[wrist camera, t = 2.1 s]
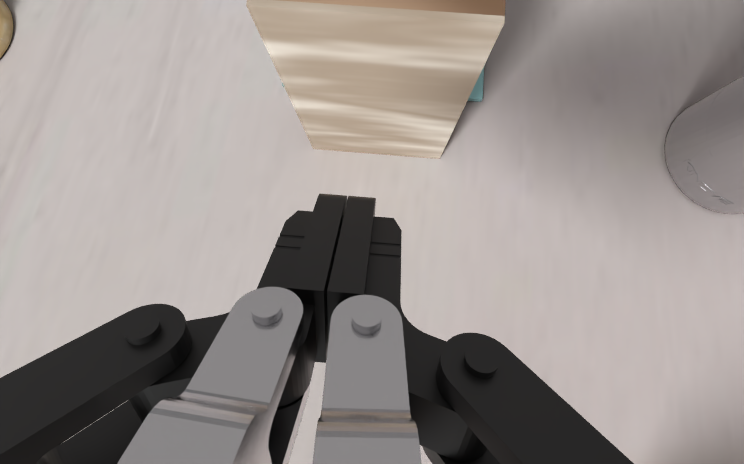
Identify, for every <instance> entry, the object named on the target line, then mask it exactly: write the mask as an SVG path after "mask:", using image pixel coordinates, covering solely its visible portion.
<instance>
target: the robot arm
mask: <svg viewBox="0 0 744 464" xmlns="http://www.w3.org/2000/svg"><path fill="white" fill-rule="evenodd" d="M665 158H666V163H667V166H668V169H669V172H670V174H671V176H672V178H673V180H674V182H675V183H676V184H677V186H678V187H679V188H680V189H681V191H682V192H683V193H684V194H685V195H686V196H688V197H689V198H690V199H691V200H692V201H694V202H695V203H697V204H699V205H701V206H702V207H704V208H706V209H709V210H713V211H716V212H719V213H727V214H738V213H744V76H742V77H740V78H739V79H737V80H735V81H733V82H731V83H730V84H728V85H726V86H724V87H723V88H721V89H719V90H718V91H716V92H714V93H712V94H711V95H709V96H707V97H706V98H704V99H702V100H700V101H699V102H697V103H695V104H694V105H692V106H690V107H688V108H687V109H685V110H684V111H683V112H682V113H681V114H680V115H678V116H677V118H676V119H675V121H674V122H673V123H672V125H671V127H670V129H669V131H668V134H667V137H666V143H665ZM375 201H376V198H368V197H356V196H349V197H348V200H347V196H342V195H330V194H319V196H318V198H317V201H316V204H315V207H314V210H313V212H310V211H297V212H296V213H295V214H294V215H292V216H291V217H290V218H289V219H288V220H287V221H286V222H285V224H284V226H283V229H282V231H281V233H280V237H279V238H278V240H277V243H276V245H275V248H274V250H273V252H272V254H271V257H270V259H269V262H268V264H267V266H266V269H265V271H264V273H263V276H262V278H261V280H260V283H259V285H258V287H257V289H256V290H253V291H251V292H249V293H247V294H246V295H244V296H243V297H241V298H240V299H239V300H238V301H237V302H236V303H235V305H234V306H233V308H232V310H231V311H230V312H229V313H226V314H223V315H218V316H214V317H208V318H202V319H196V320H190V321H186V320H185V317H184V315H183V314H182V312H181V311H180V310H179V309H177V308H175V307H173V306H170V305H166V304H151V305H146V306H142V307H139V308H136V309H133V310H131V311H129V312H127V313H125V314H123V315H121V316H119V317H117V318H115V319H113V320H111V321H110V322H108V323H106V324H104V325H102V326H100V327H98V328H96V329H94V330H92V331H90V332H88V333H86V334H84V335H83V336H81V337H79V338H77V339H75V340H73V341H71V342H69V343H67V344H65V345H63V346H61V347H59V348H57V349H56V350H54V351H52V352H50V353H48V354H46V355H44V356H42V357H40V358H38V359H36V360H34V361H32V362H30V363H28V364H27V365H25V366H23V367H21V368H19V369H17V370H15V371H13V372H11V373H9V374H7V375H5V376H3V377H1V378H0V464H288V463H289V460H290V456H291V453H292V449H293V446H294V443H295V439H296V436H297V433H298V429H299V426H300V422H301V419H302V416H303V412H304V409H305V406H306V402H307V399H308V395H309V384H310V381H311V377H312V372H313V367H314V363H315V362H324V363H326V372H325V381H324V391H323V401H322V410H321V416H320V418H319V420H318V424H317V430H316V438H315V446H314V456H313V464H421V455H420V445H421V446H423V449H424V451H425V453H426V455H427V457H428V458H429V459H430V461H431V462H432V464H634V463H632V462H631V461H630V460H629V459H628V458H627V457H626V456H625V455H624V454H623V453H621V452H620V451H619V450H618V449H617V448H616V447H615V446H614V445H613V444H612V443H611V442H609V441H608V440H607V439H606V438H605V437H604V436H603V435H602V434H601V433H600V432H598V431H597V430H596V429H595V428H594V427H593V426H592V425H591V424H590V423H589V422H587V421H586V420H585V419H584V418H583V417H582V416H581V415H580V414H579V413H578V412H576V411H575V410H574V409H573V408H572V407H571V406H570V405H569V404H568V403H567V402H566V401H564V400H563V399H562V398H561V397H560V396H559V395H558V394H557V393H556V392H555V391H553V390H552V389H551V388H550V387H549V386H548V385H547V384H546V383H545V382H544V381H542V380H541V379H540V378H539V377H538V376H537V375H536V374H535V373H534V372H533V371H532V370H530V369H529V368H528V367H527V366H526V365H525V364H524V363H523V362H522V361H521V360H519V359H518V358H517V357H516V356H515V355H514V354H513V353H512V352H511V351H510V350H508V349H507V348H506V347H505V346H504V345H503V344H501V343H500V342H498V341H497V340H495V339H493V338H491V337H489V336H486V335H483V334H478V333H463V334H459V335H456V336H454V337H452V338H451V339H449V340H448V341H447V342H446V341H444V340H441V339H438V338H436V337H433V336H430V335H428V334H426V333H423V332H422V331H420V330H418V329H417V328H415V327H414V326H413V325H412V324H411V323H410V322H409V321H408V320H407V319H406V317H405V316H404V314H403V312H402V309H401V304H400V286H401V229H400V228H399V226H398V224H397V223H396V221H395V220H394V218H385V217H375ZM326 360H327V362H326ZM127 400H128V401H127ZM126 401H127V402H126ZM124 402H125V403H124ZM123 403H124V404H123ZM121 404H122V405H121ZM120 405H121V406H120ZM118 406H119V407H118ZM116 407H117V408H116ZM115 408H116V409H115ZM113 409H114V410H113ZM112 410H113V411H112ZM110 411H111V412H110ZM109 412H110V413H109ZM107 413H108V414H107ZM106 414H107V415H106ZM104 415H105V416H104ZM103 416H104V417H103ZM101 417H102V418H101ZM99 418H101V419H99ZM98 419H99V420H98ZM96 420H97V421H96ZM95 421H96V422H95ZM93 422H94V423H93ZM92 423H93V424H92ZM90 424H91V425H90ZM89 425H90V426H89ZM87 426H88V427H87ZM86 427H87V428H86ZM84 428H85V429H84ZM83 429H84V430H83ZM81 430H82V431H81ZM79 431H81V432H79ZM78 432H79V433H78ZM76 433H77V434H76ZM75 434H76V435H75ZM73 435H74V436H73ZM72 436H73V437H72ZM70 437H71V438H70ZM69 438H70V439H69ZM67 439H68V440H67ZM66 440H67V441H66ZM64 441H65V442H64Z"/></svg>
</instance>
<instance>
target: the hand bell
mask: <svg viewBox="0 0 744 464" xmlns="http://www.w3.org/2000/svg"><path fill="white" fill-rule="evenodd" d="M12 34H13V19H12V15H11V12H10V10H9V8H8V6H7V5H6V3H5V2H4V1H3V0H0V58H1V57H2V55H3V54H4V53H5V51H6V50H7V48H8V46H9V44H10V42H11V38H12Z"/></svg>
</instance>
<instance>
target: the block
mask: <svg viewBox="0 0 744 464" xmlns="http://www.w3.org/2000/svg"><path fill="white" fill-rule="evenodd" d="M246 6H247V8H248V10H249V12H250V14H251V16H252V18H253V21H254V23H255V25H256V27H257V29H258V31H259V33H260V36H261V38H262V40H263V42H264V44H265V46H266V48H267V51H268V53H269V55H270V57H271V59H272V61H273V63H274V66H275V68H276V70H277V72H278V74H279V76H280V78H281V81H282V83H283V85H284V87H285V89H286V91H287V93H288V96H289V98H290V100H291V102H292V104H293V106H294V108H295V111H296V113H297V115H298V117H299V119H300V121H301V123H302V126H303V128H304V130H305V132H306V134H307V136H308V138H309V141H310V143H311V145H312V147H313V149H321V150H334V151H346V152H359V153H372V154H384V155H397V156H410V157H422V158H435V159H440V157H441V155H442V153H443V151H444V149H445V147H446V144H447V142H448V140H449V138H450V136H451V134H452V132H453V130H454V128H455V126H456V124H457V121H458V119H459V117H460V115H461V113H462V111H463V109H464V107H465V105H466V103H467V101H468V98H469V96H470V94H471V92H472V90H473V88H474V86H475V84H476V82H477V80H478V77H479V75H480V73H481V71H482V69H483V67H484V65H485V63H486V61H487V59H488V57H489V54H490V52H491V50H492V48H493V46H494V44H495V42H496V40H497V38H498V36H499V34H500V31H501V29H502V27H503V25H504V22H505V0H247V4H246Z"/></svg>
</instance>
